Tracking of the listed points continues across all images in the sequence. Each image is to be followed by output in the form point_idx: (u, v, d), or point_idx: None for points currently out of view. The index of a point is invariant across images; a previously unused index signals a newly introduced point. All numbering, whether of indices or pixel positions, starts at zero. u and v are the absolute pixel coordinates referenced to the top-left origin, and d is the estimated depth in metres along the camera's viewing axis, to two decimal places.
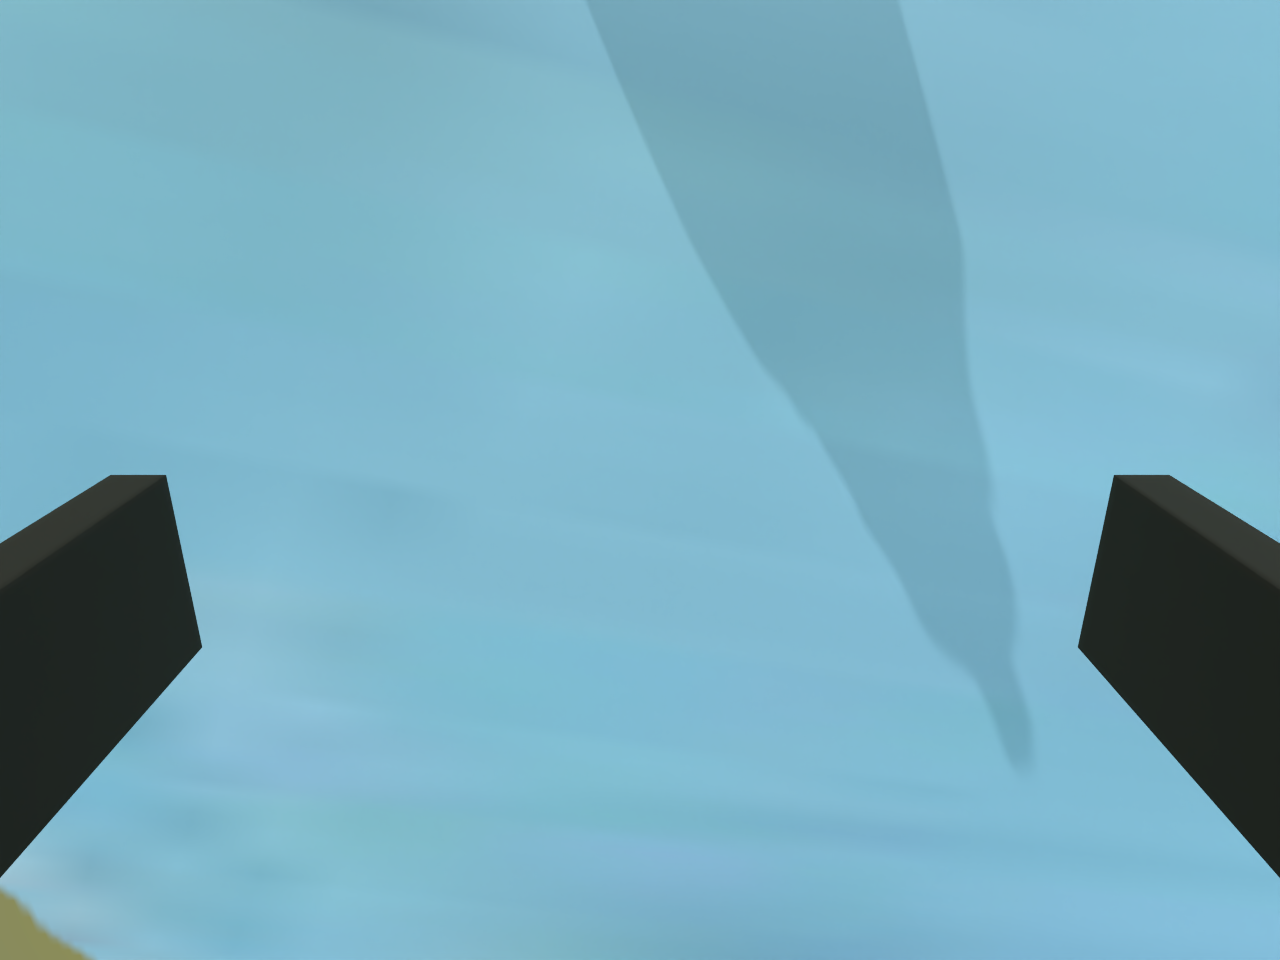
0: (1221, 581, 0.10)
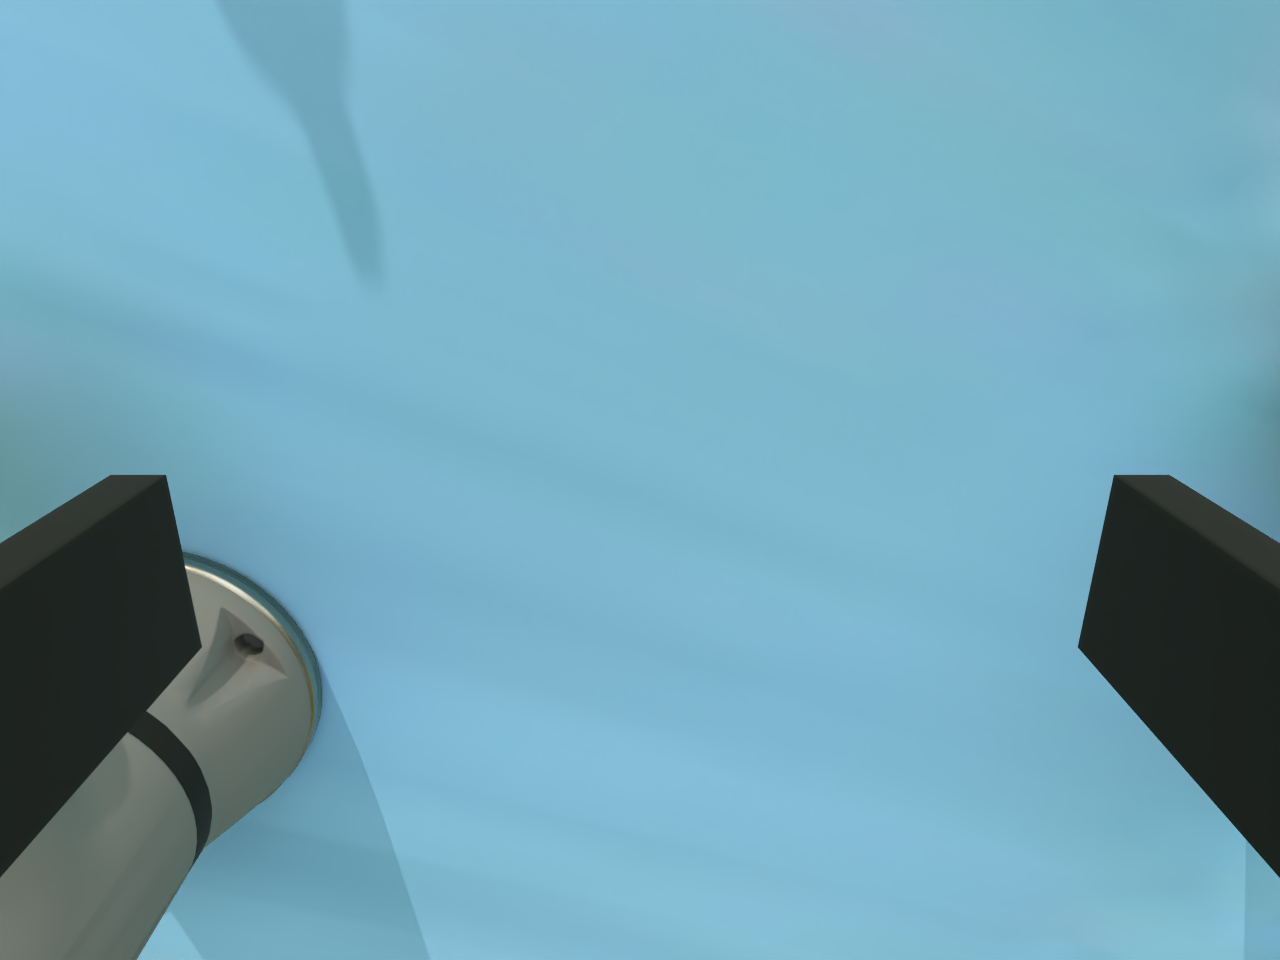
0: (1221, 581, 0.10)
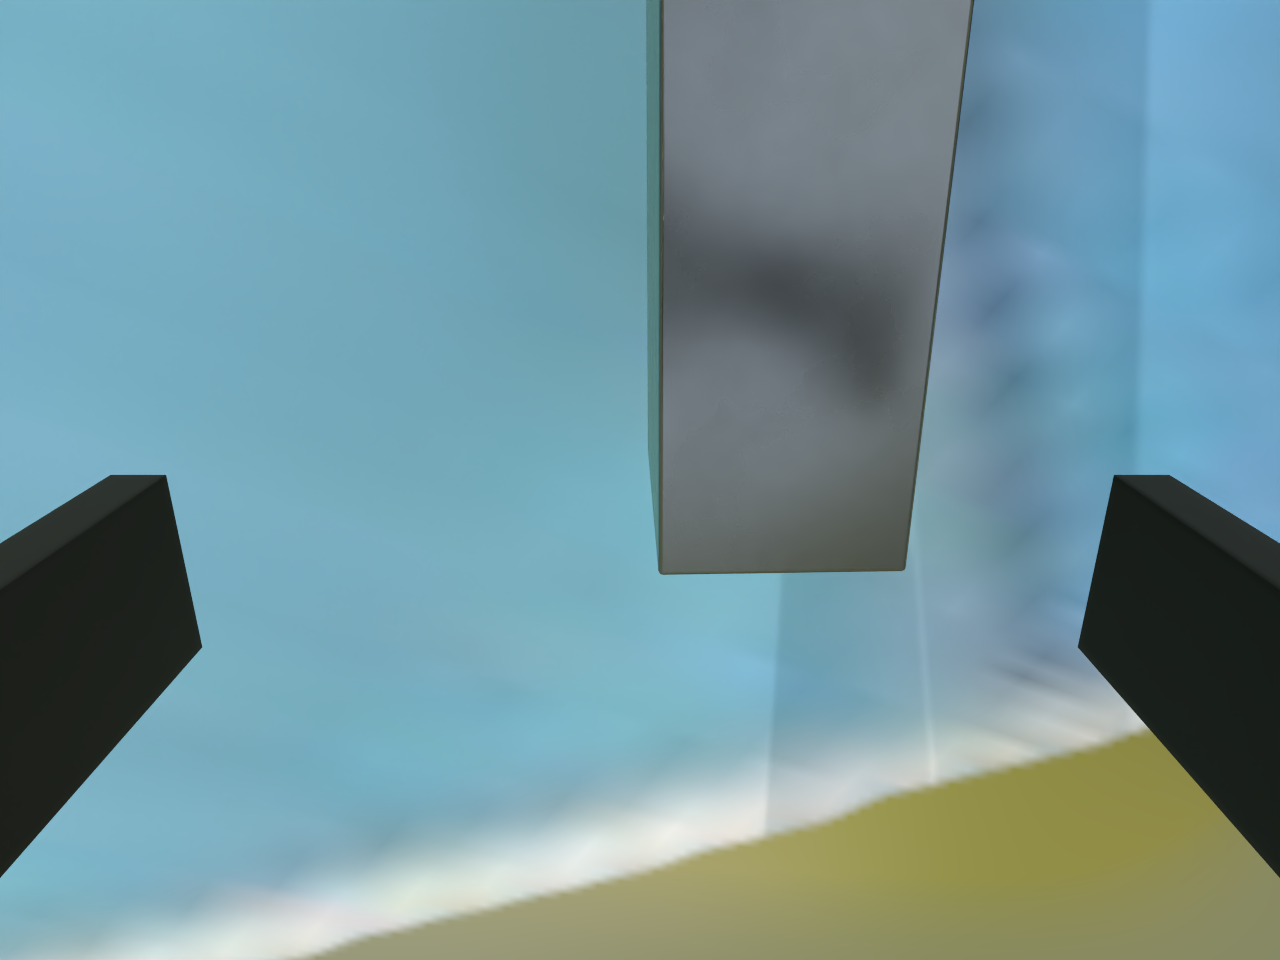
0: (1221, 581, 0.10)
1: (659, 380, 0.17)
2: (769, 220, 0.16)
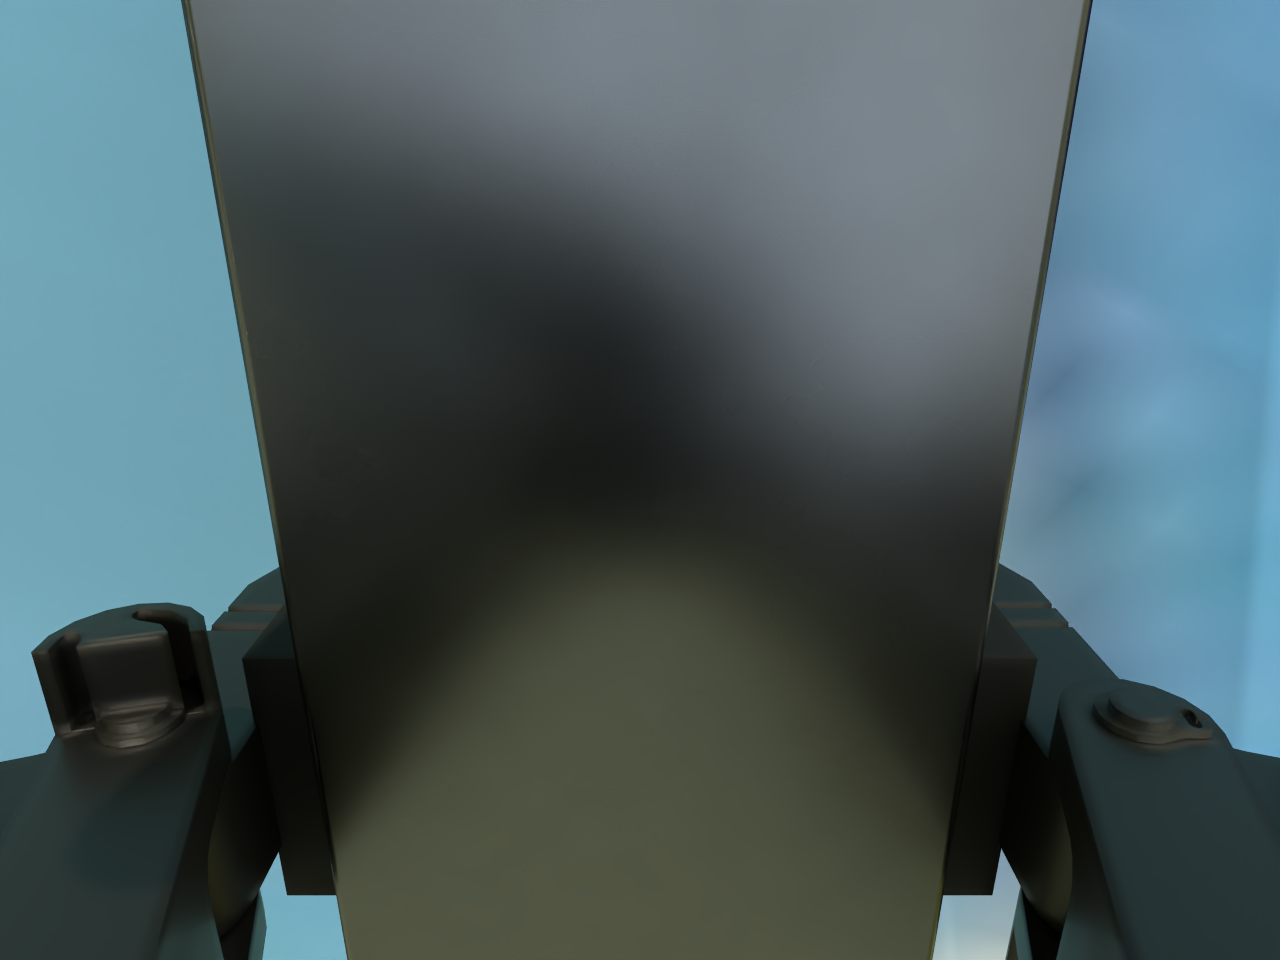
0: None
1: (306, 715, 0.07)
2: (539, 343, 0.06)
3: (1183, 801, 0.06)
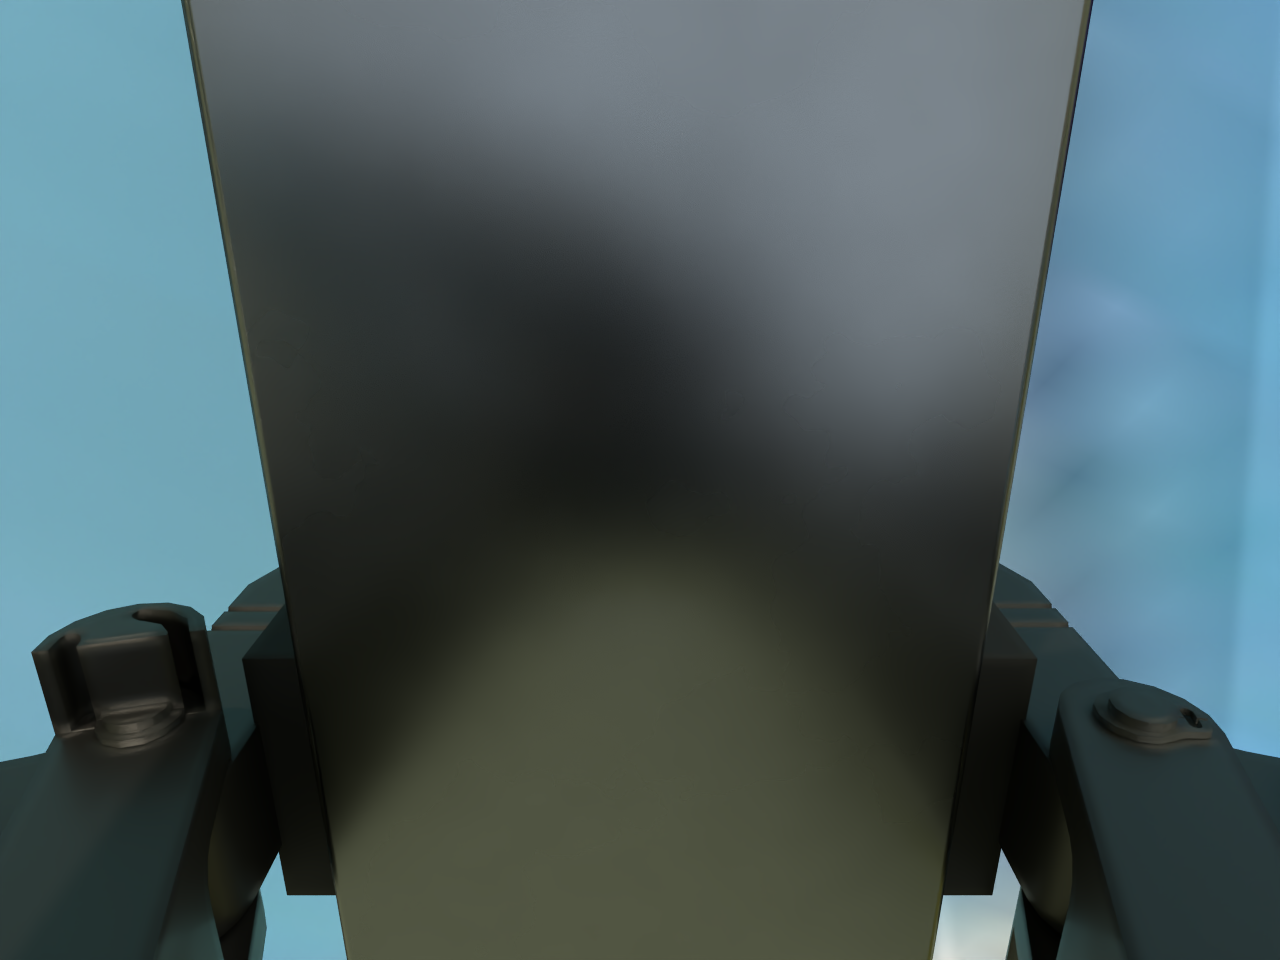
0: None
1: (306, 714, 0.07)
2: (539, 341, 0.06)
3: (1184, 802, 0.06)
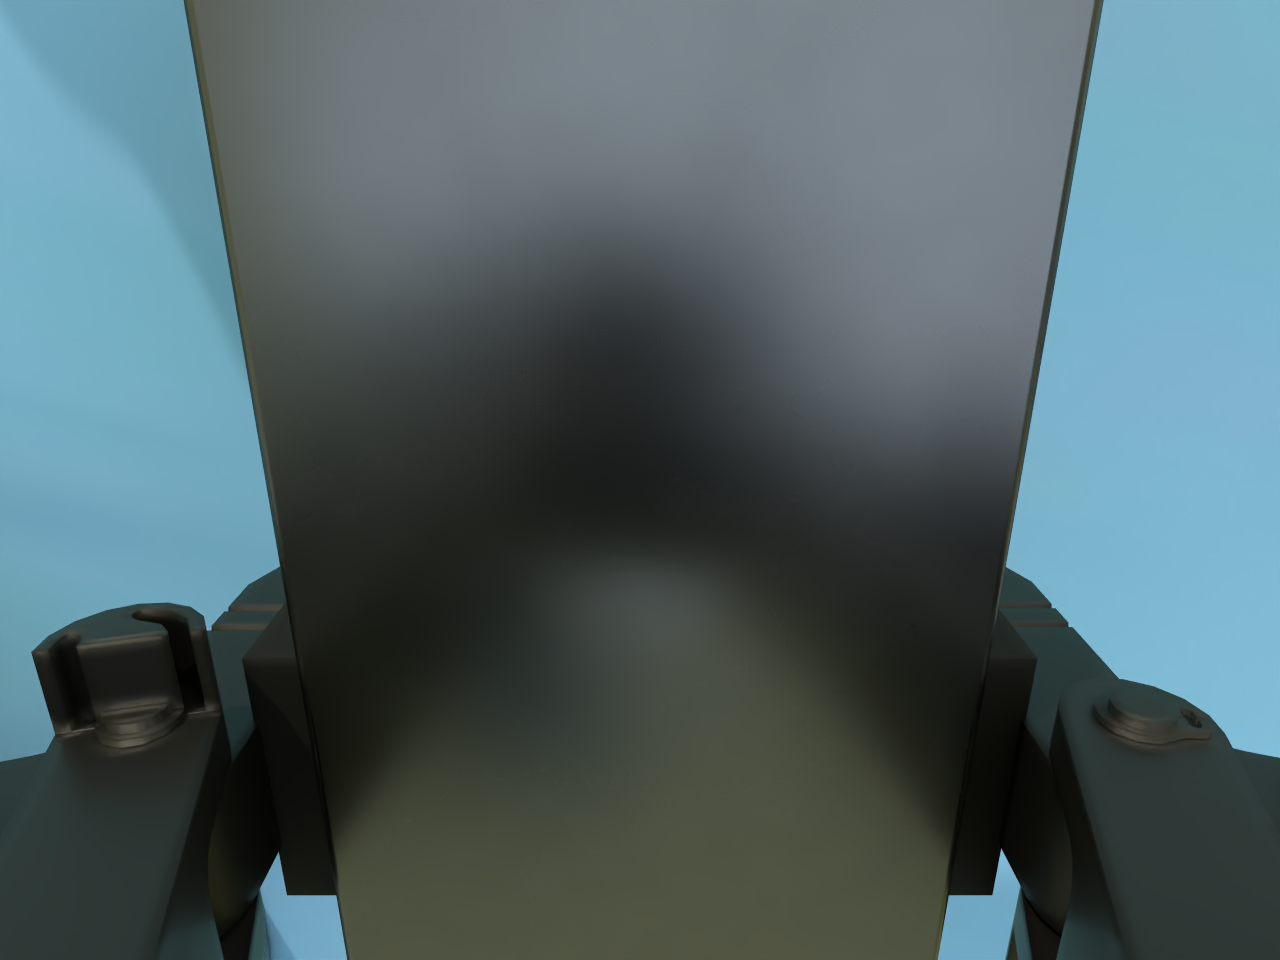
0: None
1: (307, 714, 0.07)
2: (543, 338, 0.06)
3: (1182, 801, 0.06)
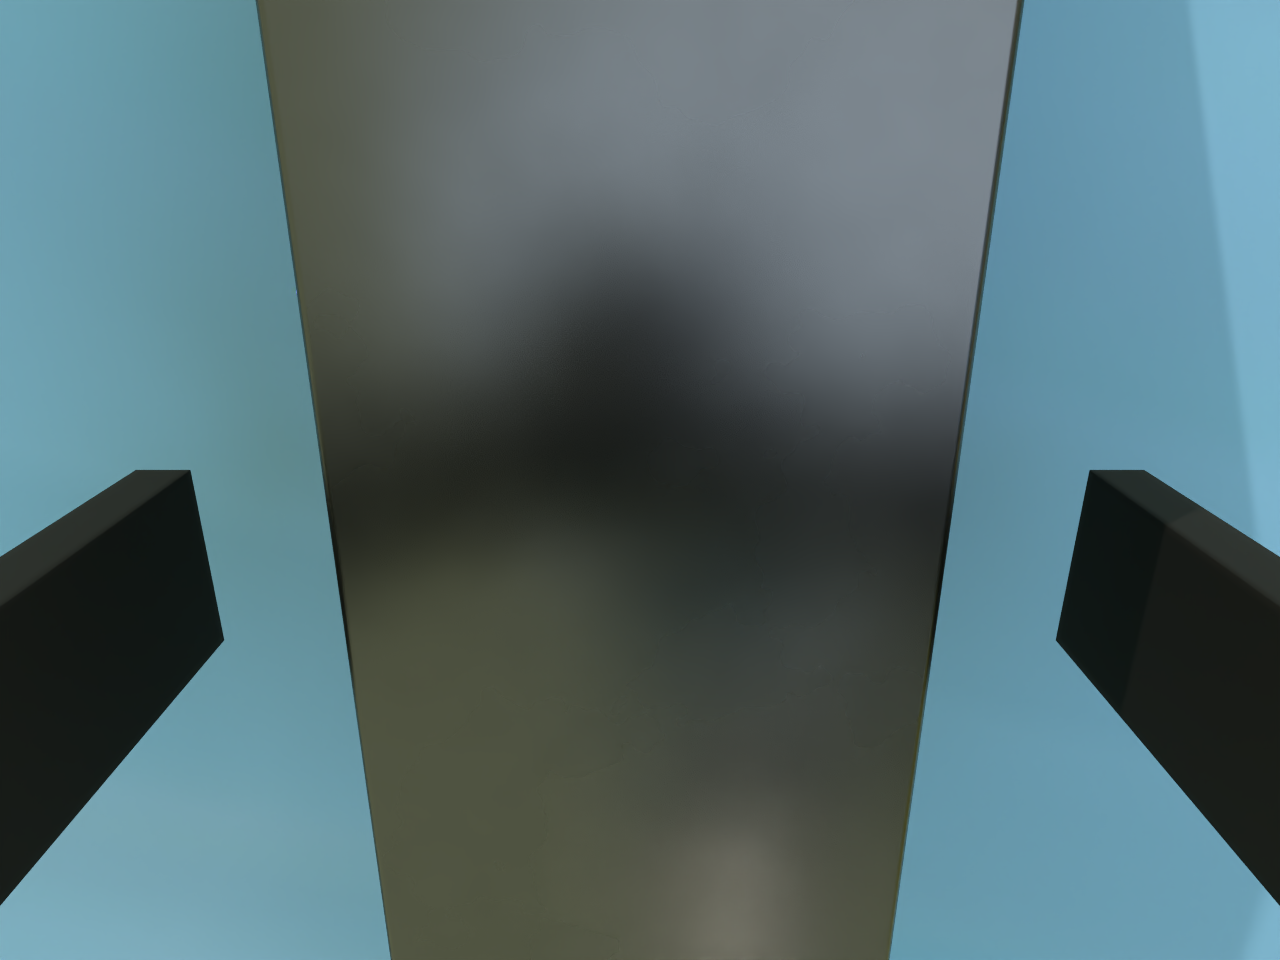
0: (1189, 573, 0.10)
1: (347, 647, 0.08)
2: (556, 317, 0.07)
3: None
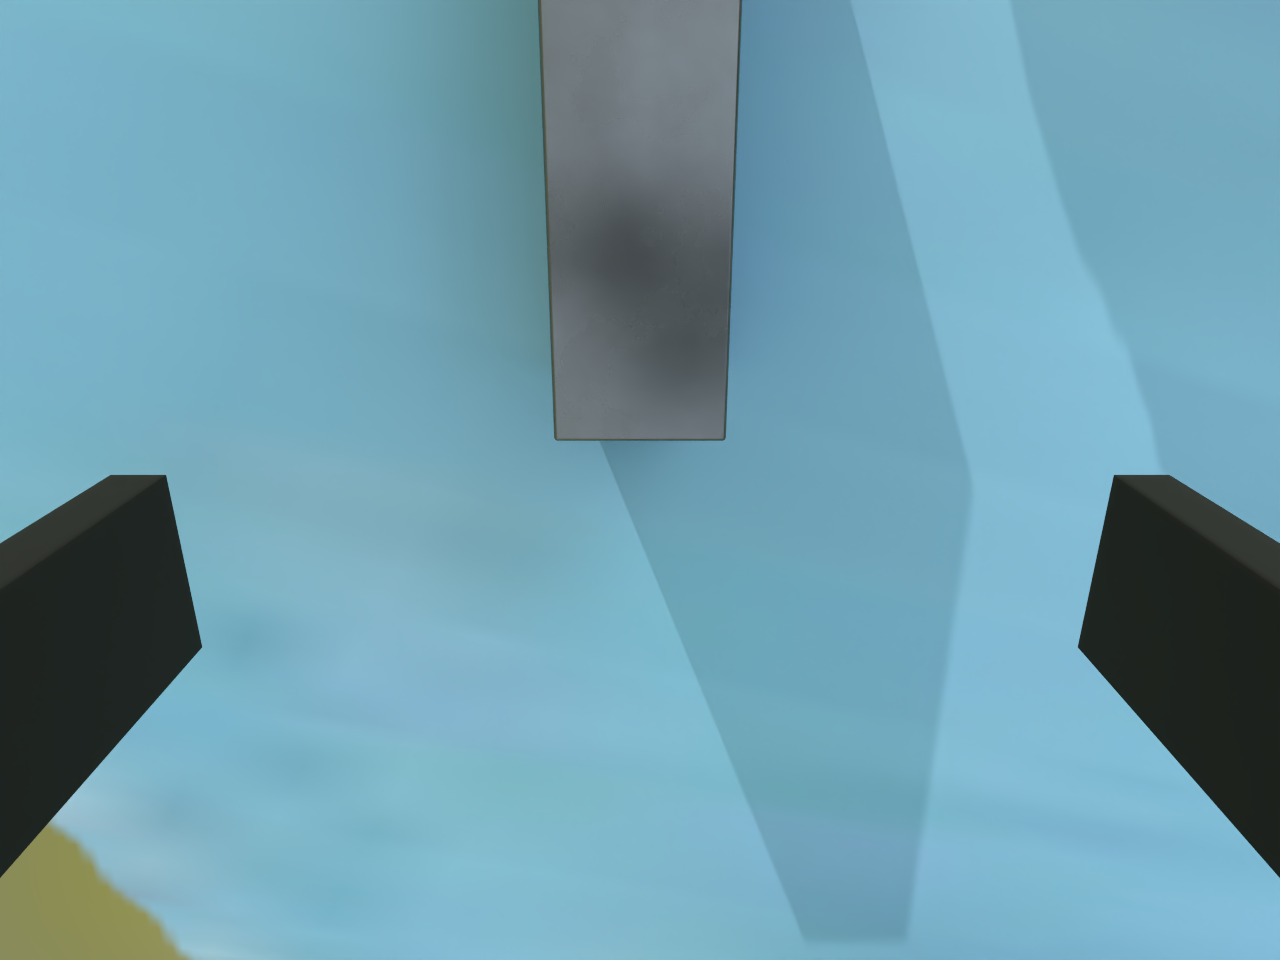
0: (1221, 581, 0.10)
1: (549, 301, 0.26)
2: (616, 194, 0.25)
3: None
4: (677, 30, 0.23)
